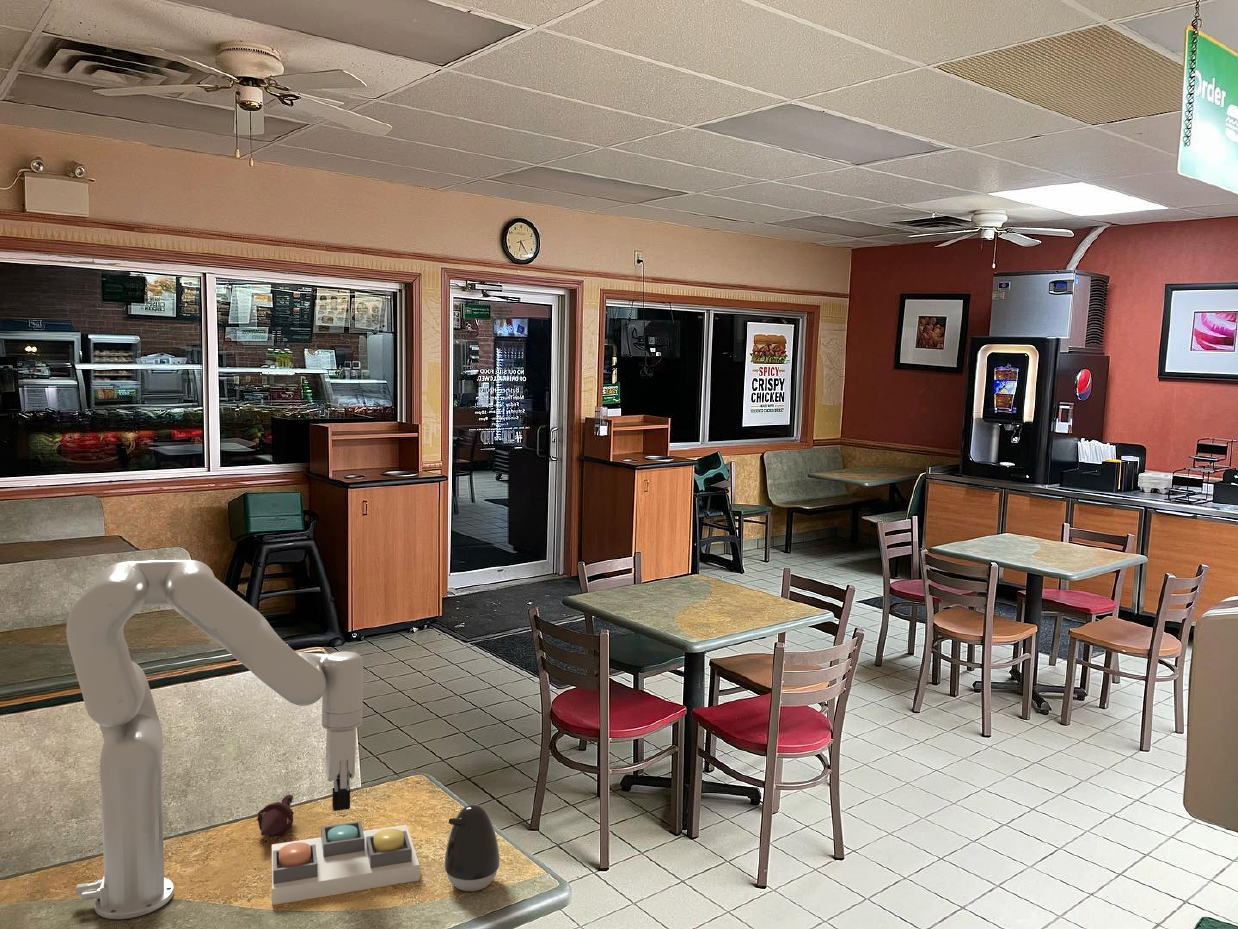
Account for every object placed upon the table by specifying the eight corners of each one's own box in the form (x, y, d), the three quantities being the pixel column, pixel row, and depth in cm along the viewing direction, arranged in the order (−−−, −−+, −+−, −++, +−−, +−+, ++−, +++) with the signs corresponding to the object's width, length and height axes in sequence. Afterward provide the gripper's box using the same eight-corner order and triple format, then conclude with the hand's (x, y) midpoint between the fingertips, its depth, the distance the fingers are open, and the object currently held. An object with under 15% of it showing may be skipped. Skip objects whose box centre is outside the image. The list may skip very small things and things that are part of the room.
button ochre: (375, 857, 172) (375, 845, 172) (372, 843, 177) (372, 831, 177) (405, 852, 174) (405, 840, 174) (401, 838, 179) (401, 827, 179)
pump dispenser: (432, 884, 172) (432, 806, 170) (476, 864, 179) (477, 789, 178) (466, 906, 165) (466, 824, 163) (510, 884, 172) (511, 806, 171)
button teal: (328, 852, 176) (328, 840, 176) (326, 839, 181) (326, 827, 181) (358, 848, 178) (358, 836, 178) (356, 835, 183) (356, 823, 183)
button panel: (272, 905, 164) (272, 875, 163) (271, 859, 179) (271, 832, 179) (419, 880, 173) (419, 852, 172) (406, 838, 189) (406, 813, 188)
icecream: (285, 822, 182) (309, 795, 197) (249, 812, 181) (276, 786, 196) (275, 856, 182) (300, 826, 197) (239, 846, 181) (267, 817, 196)
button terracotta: (279, 872, 166) (278, 859, 166) (278, 857, 171) (278, 845, 171) (311, 867, 168) (311, 854, 168) (310, 852, 173) (310, 840, 173)
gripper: (319, 706, 183) (319, 795, 185) (324, 732, 169) (323, 828, 171) (358, 702, 186) (357, 790, 187) (366, 728, 172) (364, 823, 173)
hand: (341, 808), depth 179 cm, fingers closed
